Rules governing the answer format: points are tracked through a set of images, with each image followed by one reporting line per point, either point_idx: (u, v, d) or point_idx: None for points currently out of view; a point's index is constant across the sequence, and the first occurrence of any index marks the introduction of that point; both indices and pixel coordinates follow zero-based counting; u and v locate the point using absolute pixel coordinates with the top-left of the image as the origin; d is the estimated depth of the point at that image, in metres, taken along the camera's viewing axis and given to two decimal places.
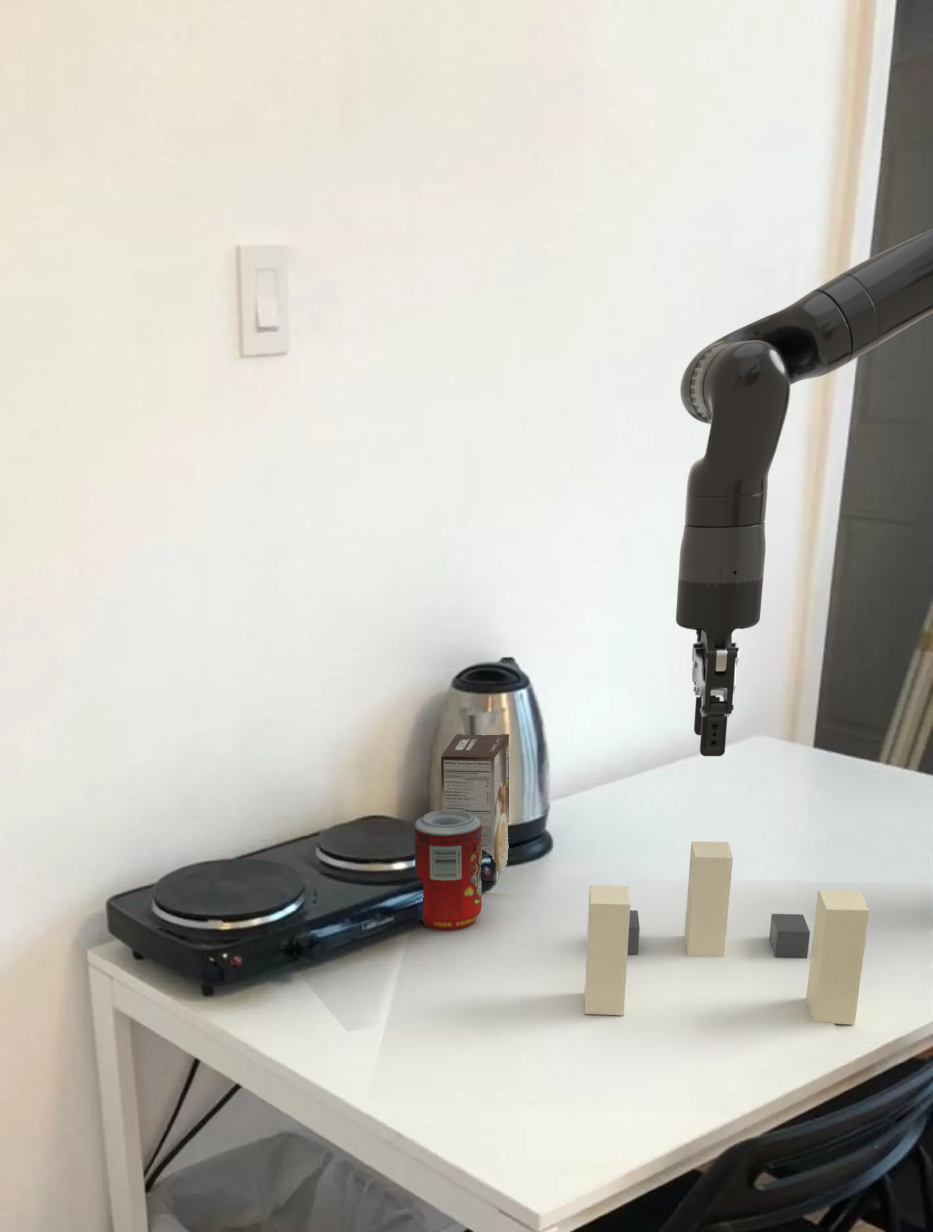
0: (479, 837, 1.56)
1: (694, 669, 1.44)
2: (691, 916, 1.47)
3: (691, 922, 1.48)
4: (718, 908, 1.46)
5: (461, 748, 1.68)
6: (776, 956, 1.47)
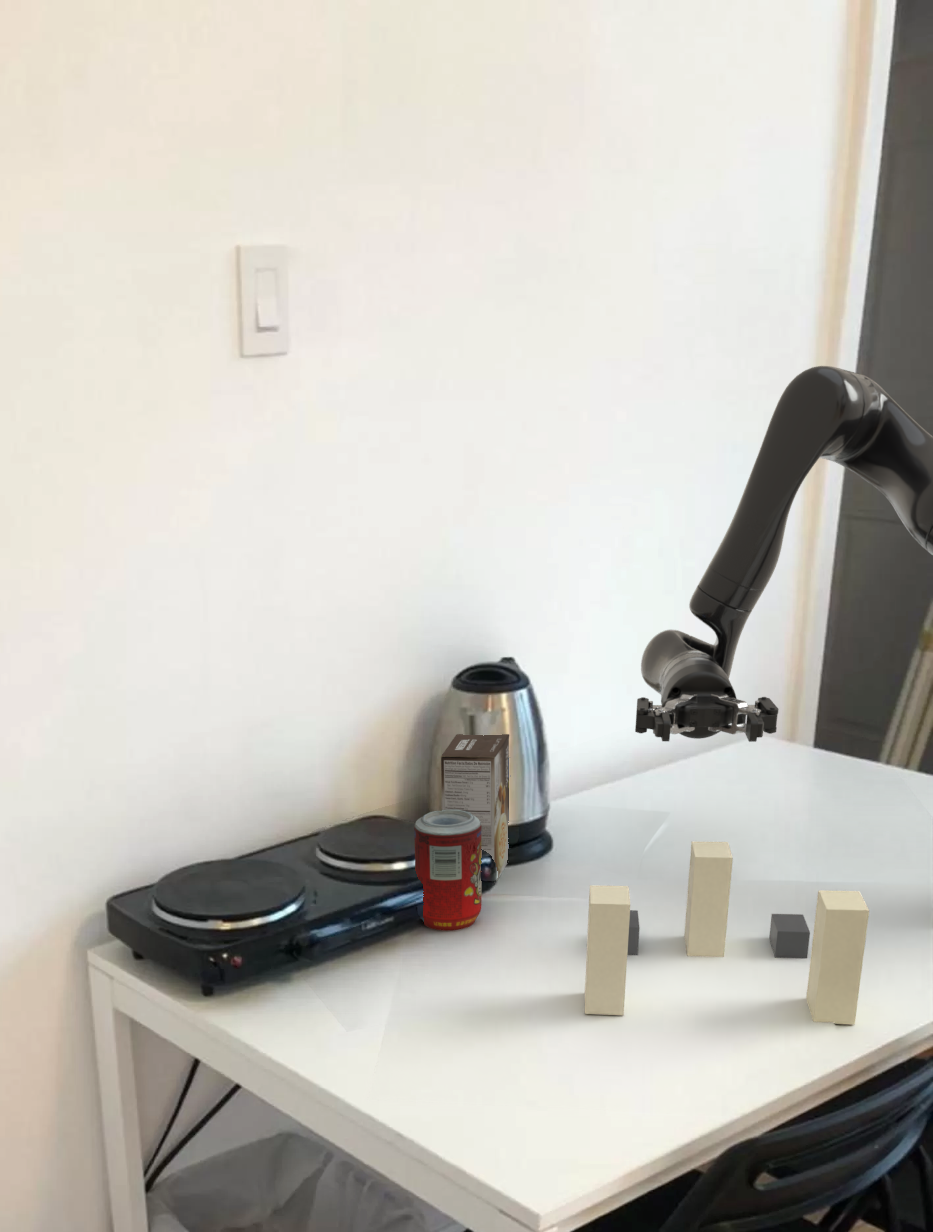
0: (479, 837, 1.56)
1: (723, 731, 1.59)
2: (691, 916, 1.47)
3: (691, 922, 1.48)
4: (718, 908, 1.46)
5: (461, 748, 1.68)
6: (776, 956, 1.47)
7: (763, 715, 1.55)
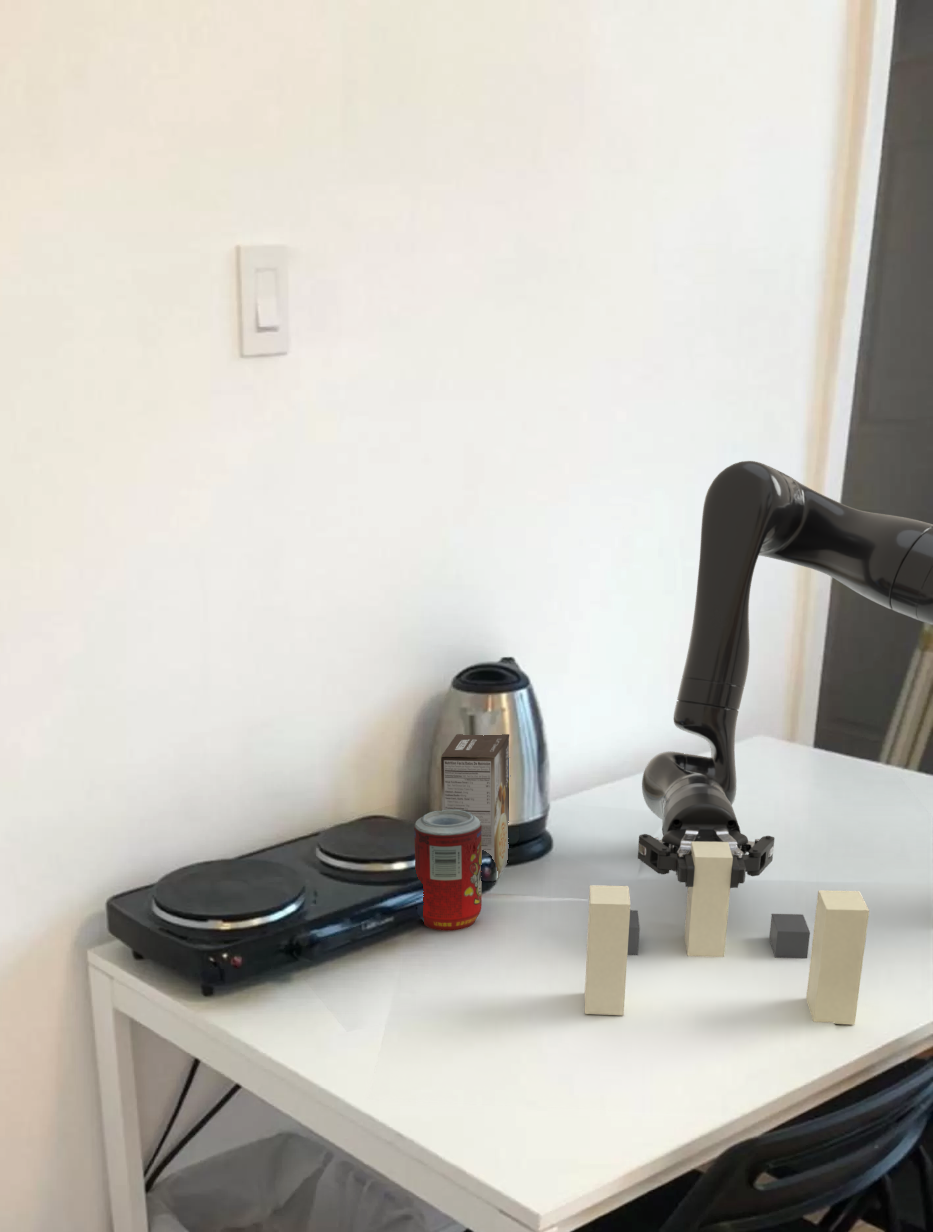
0: (479, 837, 1.56)
1: None
2: (691, 916, 1.47)
3: (691, 922, 1.48)
4: (718, 908, 1.46)
5: (461, 748, 1.68)
6: (776, 956, 1.47)
7: (743, 856, 1.48)
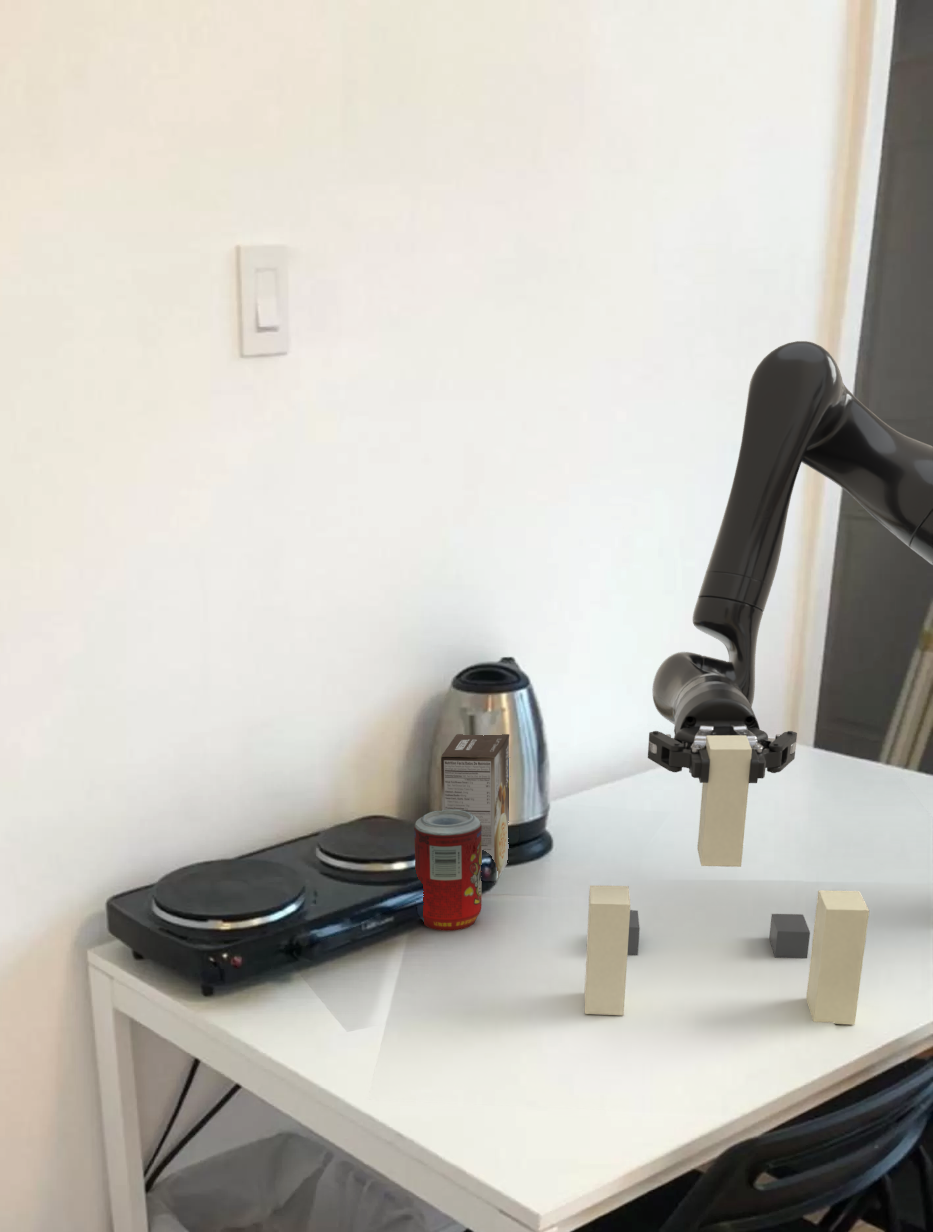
0: (479, 837, 1.56)
1: None
2: (706, 816, 1.35)
3: (706, 822, 1.35)
4: (735, 807, 1.34)
5: (461, 748, 1.68)
6: (776, 956, 1.47)
7: (762, 751, 1.36)
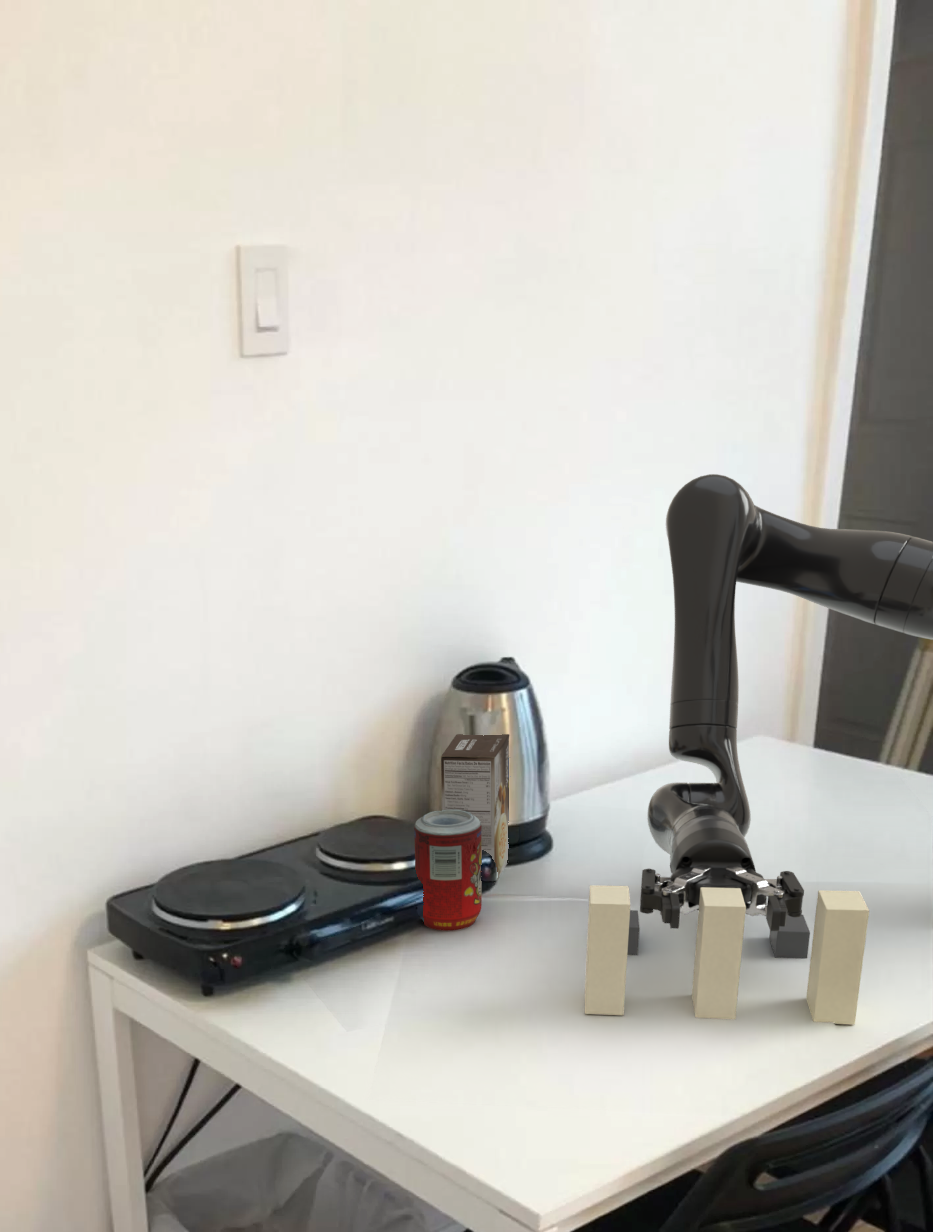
0: (479, 837, 1.56)
1: None
2: (700, 969, 1.35)
3: (700, 976, 1.35)
4: (729, 961, 1.34)
5: (461, 748, 1.68)
6: (776, 956, 1.47)
7: (786, 897, 1.35)
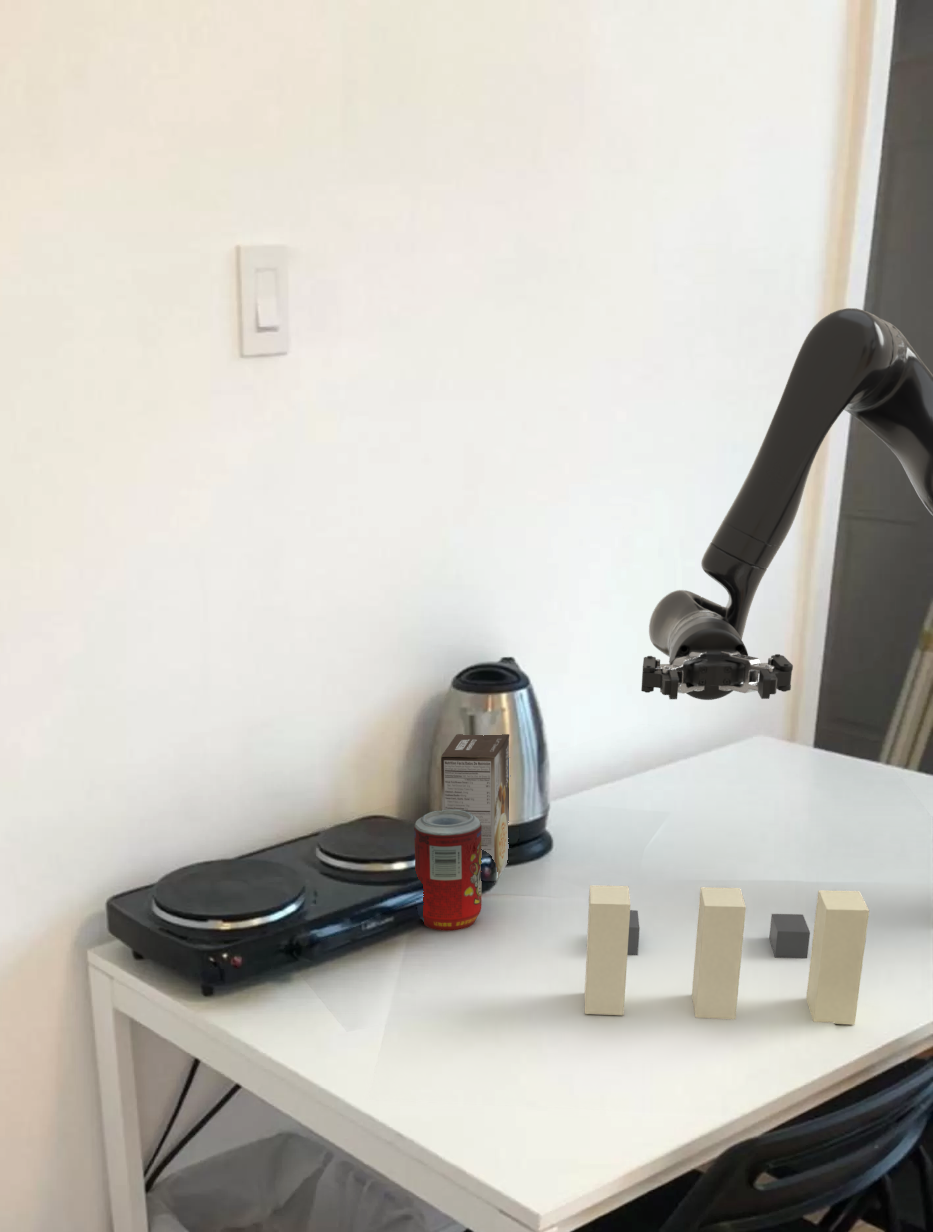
0: (479, 837, 1.56)
1: (734, 690, 1.51)
2: (700, 969, 1.35)
3: (700, 976, 1.35)
4: (729, 961, 1.34)
5: (461, 748, 1.68)
6: (776, 956, 1.47)
7: (776, 672, 1.47)
